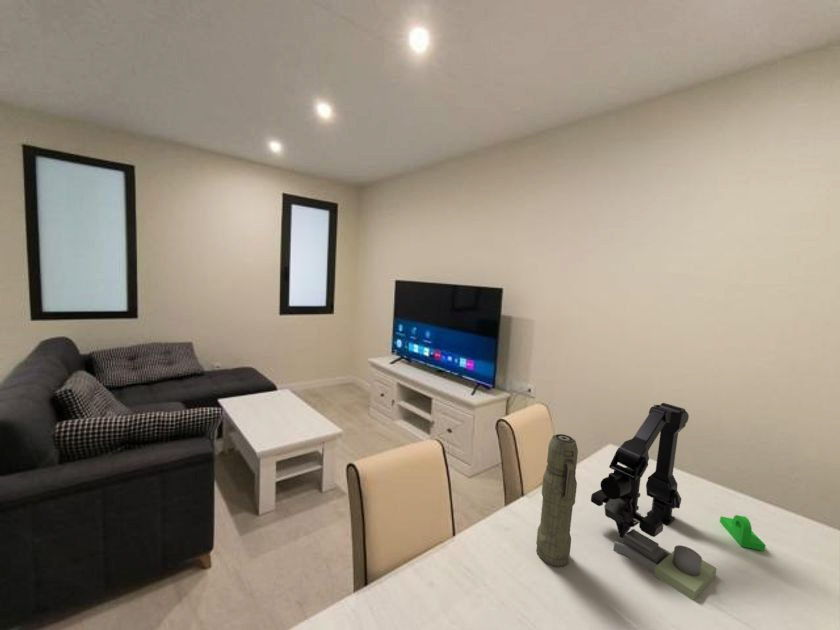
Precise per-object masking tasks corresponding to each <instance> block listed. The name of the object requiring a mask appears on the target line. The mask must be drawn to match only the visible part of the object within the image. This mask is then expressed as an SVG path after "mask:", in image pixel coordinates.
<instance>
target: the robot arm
mask: <svg viewBox="0 0 840 630" xmlns="http://www.w3.org/2000/svg"><path fill="white" fill-rule="evenodd" d="M689 418H690V416H689V413H688V412H687V410H686V409H685V408H683V407H679V406H677V405H673V404H669V403H666V402H662V403H661V404H653V406H651V407H650V408H649V411H648V415H647V417H646V418H645V420H644V421H643V423H642V424H641V426H640V427H639V428H638V430H637V432H636V433H635V435H634V436H633V437H632V438H631V439H627V440H625V441H624V442H623V443H622V444H621V446H620V447H618V448H617V449H616V451H615V453H614V456H613V457H612V460H611V462H610V464H609V465H608V467H609V468H610V469H611V470H613V472H610V473H608V476H607V477H604V478H602V479H601V481H600V489H599V490H597V491H594V492H593V493H592V494H591V497H590V502H591V503H593V504H594V505H596V506H598V507H602V506H603V505H604V514H605V517H607V518H608V519H610V520H612V521H614V522H615V525H616V528H617V532H618V535H619V538H621V539H623V537H624V536H625V535H626V533H628V532H629V531H630V530H631V528H634V527H636V526H637V525H638V528H639V529H640V531H642V532H643V533H644V534H646V535H648V536H650V537H654V538H656V537H657V536H658V535H660V533H663V530H664V525H666V526H669V525H670V524H671V523H673V522H674V521H675V520H676V517H675V516H672V515H673V509H680V508H681V504H682V496H681V494H680V493H679V491H678V482H677V480H676V477H674V467H675V459H676V452H677V445H678V437H679V436H678V435H679V432H681V431H682V430H683V429H684V428H685V427H686V425H687V423H688V422H689ZM658 436H659V440H658V442H659V443H658V450H657V455H656V456H657V458H656V466H655V471H654V472H653V473H652V474H651V475H649V476H648V477H647V480H646V484H645V489H646V490H645V491H646V496H647V497H650V498H652V504H651V509H650V510H649V511H648V512H646V516H643V515H642V513H639V511H638V510H639V506H638V501H639V498H640V497H641V493H640V488H641V487H640V485H641V480H642V479H641V478H642V477H643V476H644V474H645V472H646V470H647V468H648V466H649V461H650V456H649V450H650V449H651V447H652V446H653V444H654V442H655V441H656V439H657V437H658ZM620 464H621V465H620ZM624 466H625V467H624Z"/></svg>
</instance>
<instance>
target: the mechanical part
mask: <svg viewBox="0 0 840 630" xmlns="http://www.w3.org/2000/svg"><path fill="white" fill-rule="evenodd" d="M719 523H720V524H721V525H722V526H723V527H724V528H725V530H726V531H727V532H728V533H729V534H730V536H731V537H733V539H734V540H735V541H736V542H737V543H738V545H739V546H741V547H743V548H748V549H753V550H756V551H757V550H758V551H762V552H765V551H766V544H765V542H763V541H762V540H761V539H760V537H759V536H757V535H756V534H755V532H754V531H752V529H753V528H752V524H751V521H750V520H749V519H748V517H746V516H743V515H739V514H735V515H734V516H733V518H731V517H726V516H720V519H719Z"/></svg>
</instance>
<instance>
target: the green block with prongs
mask: <svg viewBox="0 0 840 630" xmlns="http://www.w3.org/2000/svg"><path fill="white" fill-rule="evenodd" d="M632 529H634V528H632ZM632 529H631V528H630V531H631V530H632ZM634 530H636V529H634ZM622 543H623V542H622ZM622 543H621V542H619V541H616V540H614V543H613V550H612V551H613V552H616V553H618V554H620V555H621V554H622V555H624V556H625V557H626V558H628V559H630V560H631V561H633V562H635V563H636V564H638V565H639V566H641V567H642V568H644V570H647V571H649V572H650V573H652V574H653V576H655V577H657V578H659V580H661V581H663V582H665V583H666V584H668V585H669V586H671V587H672V588H673V589H675V590H676V591H678V592H679V593H681V594H683V595H684V596H685V597H687V598H688V599H690V600H692V601H695V600H696V598H697V597H698V596H699V595H700V594H701V592H703V591H704V589H705V588H706V587H707V586H708V585H709V584H710V583H711V582H712V580H713V579H714V578H715V577H716V575H717V566H714V565H712V564H711V563H709V562H707V561H705V560H703V557H702V556H701V555H700V554H699V552H697V551H695V550H694V549H692V548H690V547H688V546H684V545H675V546H674V549H673V551H668V550H666V549H665V548H664V547H661V546H660V545H659V546H658V547H660V548H661V549H663V550H665V554H664V560H662V561H661V562H660V563H659V564H658V565H657V564H656V563H654V562H652V561H651V560H649V559H648V558H646V557H644V556H643V555H641V554H640V553H638V552H636V551H635V550H633V549H632V548H630V547H628V546H626V545H624V544H622Z"/></svg>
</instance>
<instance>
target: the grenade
mask: <svg viewBox="0 0 840 630" xmlns="http://www.w3.org/2000/svg"><path fill="white" fill-rule="evenodd" d="M547 447H548V449H547V458H546V463H547V465H546V468H545V471H544V473H543V475H542V484H541V495H542V503H541V504H542V505H541V513H540V523H539V525H538V527H537V535H536V551H535V552H536V555H537V557H538V558H539V559H540V561H542V562H543V563H545V564H546V565H548V566H550V567H554V568H556V569H557V568H564V567H566V566H567V565H568V564H569V557H570V553H571V544H572V537H571V536H572V535H571V525H572V515H573V509H574V508H573V507H574V505H575V503H576V496H577V487H578V486H577V485H578V482H577V478H576V472H577V471H576V470H577V463H578V455H579V454H578V453H579V451H578V450H579V449H578V445H577V441H576V439H574V438H573V437H571V436H569V435H567V434H563V433H558V434H554V435H552V437H551V439H550V441H549V443H548V446H547Z"/></svg>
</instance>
